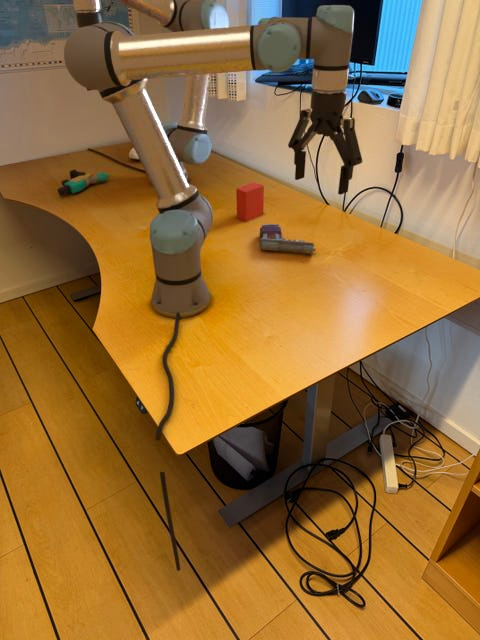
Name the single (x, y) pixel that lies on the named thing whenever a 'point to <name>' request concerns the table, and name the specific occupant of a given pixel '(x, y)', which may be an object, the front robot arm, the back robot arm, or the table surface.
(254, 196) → the block
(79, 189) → the toy gun
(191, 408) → the table surface
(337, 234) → the table surface
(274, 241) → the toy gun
